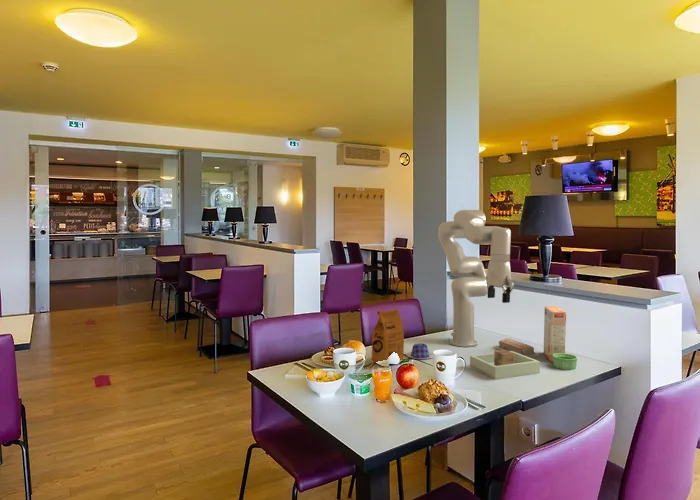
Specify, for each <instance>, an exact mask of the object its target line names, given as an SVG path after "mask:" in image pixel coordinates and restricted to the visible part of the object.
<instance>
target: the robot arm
mask: <svg viewBox="0 0 700 500" xmlns="http://www.w3.org/2000/svg"><path fill="white" fill-rule="evenodd" d="M486 219H487V217H486V214H485V213H484V212H483V211H482V210H481V209H461V210H458V211H456V212H455V214H454V215H453V221H452V220H450V221H445V222H442V223H441V224H440V225H439V226H438V231H437V233H438V234H437V236H438V240H439V243H440V245H441V247H442V249H443V251H444V254H445V258H446V261H447V265H448V268H449V272H450V274H451V275H452V276H453V277H455V278H454V279H453V280H451V281H452V282H451V286H450V287H451V288H450V289H451V293H452V294H451V295H452V301H453V303H452V304H453V306H452V307H453V310H452V311H453V313H452V315H453V316H452V317H453V319H452V321H453V328H452V329H453V332H450V335H451V337H452V338H451V339H450V340H449V343H450V345H452V346H456V347H463V348H465V347H467V348H468V347H475V346H477V345H478V341H477V340H476V339H475V307H474V304H473V302H472V301H471V299H470V298H475V297H480V298H481V297H486V296H487V298H488V299H494V298H495V297H496V288H502V291H503V292H502V294H501V295H502V296H501V297H502V299H501V302H502V304H506V303H507V304H509V303H510V302H511V293H512V291H513V289H514V286H515V283H514V282H513V280H512V276H511V275H512V272H511V262H510V261H511V237H512V232H511V229H510V228H508V227H501V226H497V225H493V226H492V225H490V226H488V225H485V224H486ZM455 239H466V240H467V241H469V242H470V243H472V244H475V245H490V257H489V258H490V259H489V261H488V266H487V273H486V270H485V266H484V264H483V262H482V260H481V259H480V258H479V257H477V256H466V255H465V253H464V250H463V247H462V246H461V244H460V243H459V242H458V241H457V240H455Z"/></svg>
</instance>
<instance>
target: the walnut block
mask: <svg viewBox="0 0 700 500" xmlns="http://www.w3.org/2000/svg"><path fill="white" fill-rule="evenodd" d="M493 353H494V365H495V366H500V365H507V364H513V353H512V352H509V351H507V350H499V349H498V350H494V352H493Z"/></svg>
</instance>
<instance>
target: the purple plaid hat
mask: <svg viewBox="0 0 700 500" xmlns="http://www.w3.org/2000/svg"><path fill="white" fill-rule="evenodd" d="M432 354H433V353H432V352H430V351H429V348H428V345H427V344H426V343H421V342H420V343H419V342H418V343H414V344H413V346H412V349H411V351H409V352H407V353H406V354H405V356H407V357H409V358H411V359H417V360H428V359H432V358H433V357H432Z"/></svg>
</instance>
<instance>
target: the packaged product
mask: <svg viewBox="0 0 700 500" xmlns="http://www.w3.org/2000/svg"><path fill="white" fill-rule="evenodd" d="M493 348H494V349H496V350H498V351H499V350H507V351H513V352H516V353H519V354H521V355H524V356H527V357H529V358H534V357H533V356H535V357H538V353H537V352H535V347H534V346H531V345H529V344H526V343H524V342H521V341H518V340H515V339H513V338H509V337H506V338H504V339H502V340H499V341H498V345H493Z"/></svg>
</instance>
